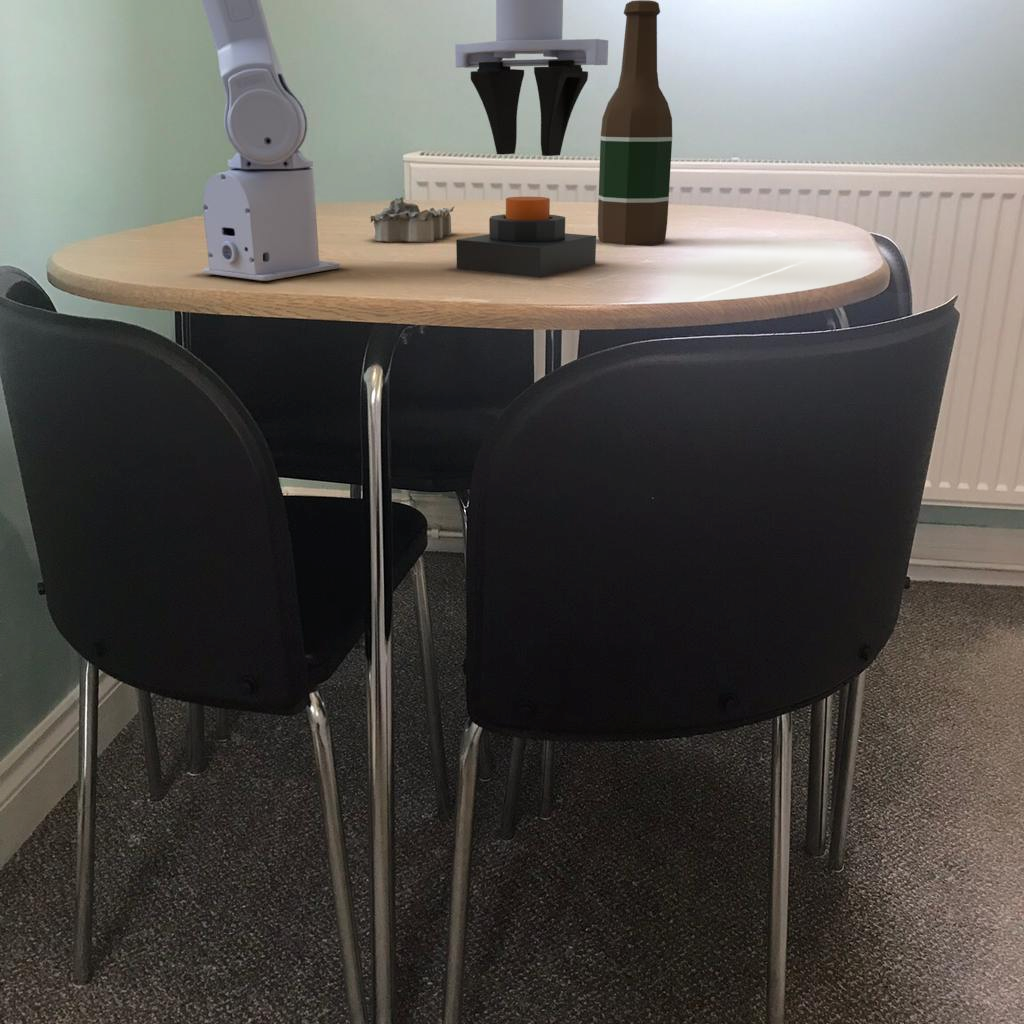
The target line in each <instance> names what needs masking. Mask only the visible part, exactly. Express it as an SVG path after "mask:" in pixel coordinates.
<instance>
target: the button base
mask: <svg viewBox="0 0 1024 1024" xmlns="http://www.w3.org/2000/svg"><path fill="white" fill-rule="evenodd" d="M488 222H489V224H488V226H489V227H488V228H489V230H488V232H489V233H487V234H481V235H476V236H469V237H463V238H457V239H456V241H455V243H456V244H455V246H456V248H455V249H456V251H455V252H456V270H463V271H473V272H480V273H490V274H491V273H493V274H499V275H500V274H501V275H510V276H519V277H530V278H538V279H539V278H544V277H549V276H552V275H556V274H561V273H565V272H570V271H573V270H577V269H581V268H585V267H586V268H587V267H590V266H594V265H596V257H597V256H596V255H597V235H591V234H581V233H580V234H578V233H566V216H563V215H558V214H549V219H545V220H513V219H506V213H505V214H504V213H503V214H496V215H491V216H490V217H489V221H488Z"/></svg>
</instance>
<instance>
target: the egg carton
mask: <svg viewBox="0 0 1024 1024" xmlns="http://www.w3.org/2000/svg"><path fill="white" fill-rule="evenodd" d="M454 208H455V206H452V207H450V208H447V207H442V209H440V208H438V209H437V210H435V208H434V207H431V208H429V209H424V210H421V211H420V208H419V206H418V205H417V204H416V203H407V202H404V197H403V196H400V197H399V198H397V197H396V198H395V199H392V200H391V201H390V202H389V206H388V207H385V208H383V210H382V212H380V213H376V214H375V215H370V217H369V219H370V223H373V227H374V241H375V242H381V243H382V242H385V243H386V242H387V243H392V242H393V243H394V242H406V243H407V242H408V243H409V242H410V243H432V242H434V240H437V239H442V238H443V237H444V236H451V234H452V217H451V213H452V212H453V211H454Z"/></svg>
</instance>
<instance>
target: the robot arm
mask: <svg viewBox="0 0 1024 1024" xmlns="http://www.w3.org/2000/svg"><path fill="white" fill-rule="evenodd" d="M200 1H201V4H202V7H203V11H204V14H205V17H206V20H207V24H208V27H209V30H210V33H211V37H212V40H213V43H214V46H215V50H216V53H217V54H216V55H217V60H218V68H219V74H220V79H221V82H222V85H223V89H224V93H225V108H224V114H223V126H224V127H223V128H224V131H225V136H226V138H227V140H228V142H229V144H230V146H231V147H232V148H233V149H234V151H235V152H236V153H235V154H234V156H233V157H232V158H229V159H227V167H229V168H228V169H227V170H226V171H222V172H221V171H220V172H218V173H215V174H213V175H212V176H211V177H210V178H209V179H208V180H207V181H206V184H205V186H204V190H203V194H202V212H203V222H204V230H205V231H204V232H205V241H206V249H207V258H208V259H207V260H208V266H207V267H204V268H203V273H204V274H208V275H216V276H224V277H229V278H230V277H232V278H239V279H246V280H254V281H262V282H268V281H274V280H280V279H285V278H290V277H297V276H302V275H307V274H313V273H319V272H325V271H330V270H336V269H340V268H341V263H340V262H334V261H325V260H320V251H319V237H318V234H319V233H318V222H317V221H318V219H317V207H316V206H317V205H316V204H317V203H316V192H315V176H314V175H315V174H314V168H312V167H313V166H314V162H313V160H310V159H308V158H307V157H305V155H304V154H303V152H302V151H301V150H300V148H301V147H302V146H303V144H304V142H305V140H306V137H307V133H308V117H307V113H306V110H305V108H304V106H303V104H302V103H301V101H300V100H299V99H298V98H297V96H296V95H295V94H294V93H293V91H291V89H290V88H289V85H288V83H287V82H286V78H285V76H284V72H283V69H282V65H281V64H280V60H279V57H278V54H277V51H276V49H275V46H274V43H273V39H272V37H271V33H270V30H269V26H268V23H267V22H268V21H267V19H266V16H265V13H264V9H263V5H262V2H261V0H200ZM563 18H564V0H495V40H494V41H481V42H468V43H455V44H454V50H455V51H454V52H455V55H454V57H455V60H454V61H455V68H464V69H477V70H472V71H470V81H471V82H472V84H473V86H474V89H475V90H476V92H477V94H478V96H479V98H480V100H481V103H482V105H483V107H484V111H485V113H486V116H487V119H488V123H489V127H490V130H491V134H492V138H493V139H492V140H493V143H494V147H495V152H496V155H515V154H516V149H517V140H518V139H517V137H518V136H517V135H518V126H517V125H518V123H517V122H518V108H519V101H520V94H521V89H522V85H523V80H524V77H525V69H517V68H511V67H533V74H534V78H535V82H536V83H535V84H536V87H537V93H538V100H539V109H540V150H541V156H542V157H553V156H554V157H557V156H561V152H562V149H563V143H564V140H565V135H566V131H567V127H568V124H569V122H570V118H571V116H572V112H573V110H574V108H575V105H576V103H577V101H578V99H579V96H580V94H581V92H582V91H583V89H584V88H585V85H586V83H587V82H588V80H589V79H588V78H589V71H587V70H586V71H585V70H583V67H582V66H608V61H609V40H608V39H600V38H585V39H584V38H583V39H581V38H580V39H579V38H577V39H575V38H574V39H573V38H572V39H563V26H564V25H563V22H564V19H563ZM516 55H543V57H546V58H543V59H542V58H539V59H538V58H537V59H515V58H516ZM547 57H548V58H547ZM506 59H507V60H506Z"/></svg>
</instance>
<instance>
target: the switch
mask: <svg viewBox="0 0 1024 1024" xmlns="http://www.w3.org/2000/svg"><path fill="white" fill-rule="evenodd" d="M550 205H551V200H550V198H549V197H545V196H509V197H506V198H505V214H506V219H513V220H545V219H549V215H551V214H550V211H551V208H550V207H551V206H550Z"/></svg>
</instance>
